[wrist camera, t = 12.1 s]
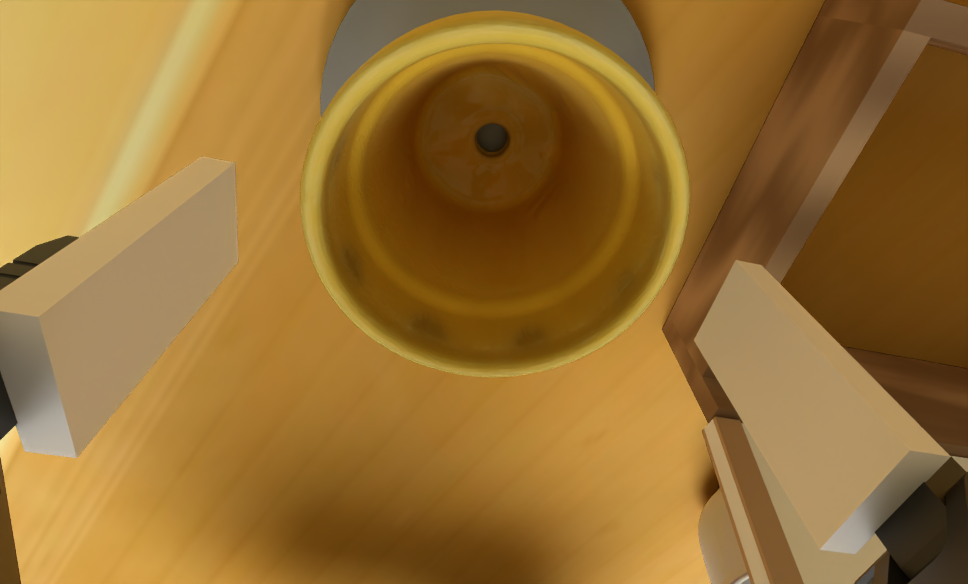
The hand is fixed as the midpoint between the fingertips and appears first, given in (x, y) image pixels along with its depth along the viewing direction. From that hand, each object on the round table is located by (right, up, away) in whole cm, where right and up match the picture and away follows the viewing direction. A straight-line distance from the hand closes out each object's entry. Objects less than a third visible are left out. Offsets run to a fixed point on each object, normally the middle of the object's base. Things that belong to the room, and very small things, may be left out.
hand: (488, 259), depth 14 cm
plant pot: (0, +6, +8) cm, 10 cm away
